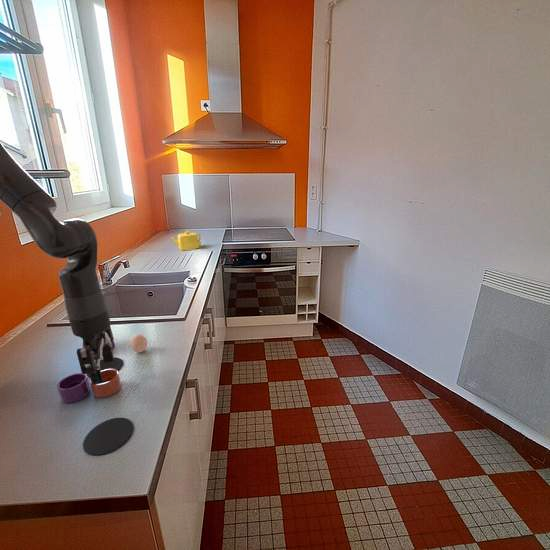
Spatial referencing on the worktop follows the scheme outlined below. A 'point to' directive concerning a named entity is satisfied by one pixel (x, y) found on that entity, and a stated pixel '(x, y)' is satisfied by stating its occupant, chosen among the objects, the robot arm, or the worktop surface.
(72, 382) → the plum dish
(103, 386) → the clay dish
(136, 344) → the egg
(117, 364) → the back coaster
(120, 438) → the front coaster
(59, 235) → the robot arm
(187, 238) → the teapot
